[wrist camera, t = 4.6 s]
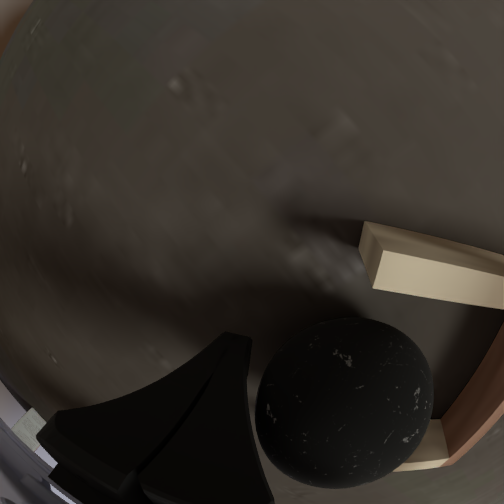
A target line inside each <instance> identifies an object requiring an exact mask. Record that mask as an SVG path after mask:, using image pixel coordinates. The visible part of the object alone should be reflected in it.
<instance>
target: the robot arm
mask: <svg viewBox="0 0 504 504" xmlns="http://www.w3.org/2000/svg"><path fill="white" fill-rule="evenodd" d="M251 347H252V339H251V338H250V337H247V336H242V335H238V334H234V333H230V332H224V333H222V334H221V335H220V336H219V337H218V338H216V339H215V340H214V341H213V342H212V343H211V344H209V345H208V346H207V347H206V348H205V349H203V350H202V351H201V352H200V353H198V354H197V355H196V356H194V357H193V358H192V359H190V360H189V361H188V362H186V363H185V364H183V365H182V366H180V367H179V368H177V369H176V370H174V371H173V372H171V373H170V374H168V375H166V376H165V377H163V378H161V379H159V380H158V381H156V382H154V383H152V384H150V385H148V386H146V387H144V388H142V389H139V390H137V391H135V392H132V393H130V394H128V395H125V396H122V397H120V398H117V399H113V400H110V401H107V402H103V403H100V404H96V405H92V406H88V407H82V408H76V409H69V410H61V411H57V412H56V413H55V414H54V415H53V416H52V417H51V418H50V420H49V421H48V422H47V423H46V424H45V425H44V426H43V427H42V429H41V430H40V431H39V432H38V433H37V434H36V439H37V441H38V442H39V443H40V445H41V446H42V447H43V448H44V449H45V450H46V451H47V452H48V453H49V454H50V455H51V457H52V458H54V460H55V461H56V462H57V463H58V464H57V465H56V466H55V468H54V469H53V468H52V467H51V466H49V465H48V464H47V463H46V462H45V461H43V460H42V459H41V458H40V457H39V456H38V455H37V454H36V453H34V452H33V451H32V450H31V449H30V448H29V447H28V446H27V445H26V444H25V443H24V442H23V441H22V440H21V439H20V438H19V437H18V436H17V435H16V434H15V433H14V432H13V431H12V430H11V429H10V428H9V427H8V426H7V425H6V424H5V422H3V420H2V419H1V418H0V504H69V503H67V502H66V501H65V500H63V499H62V498H60V497H59V496H58V495H56V494H55V493H53V492H52V491H51V488H50V484H51V485H52V486H54V487H55V488H56V489H57V490H59V491H60V492H61V493H62V494H64V495H65V496H66V497H68V498H69V499H70V500H72V501H73V502H75V503H76V504H275V503H274V497H273V495H272V492H271V490H270V488H269V485H268V482H267V480H266V477H265V474H264V471H263V468H262V465H261V462H260V459H259V455H258V451H257V448H256V444H255V440H254V436H253V431H252V426H251V420H250V414H249V407H248V397H247V375H248V370H249V363H250V355H251Z"/></svg>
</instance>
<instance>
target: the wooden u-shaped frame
mask: <svg viewBox="0 0 504 504" xmlns="http://www.w3.org/2000/svg"><path fill="white" fill-rule="evenodd" d="M358 249H359V252H360V255H361V257H362V260H363V263H364V265H365V268H366V271H367V274H368V277H369V279H370V282H371V285H372V288H374V289H380V290H385V291H391V292H397V293H403V294H409V295H415V296H421V297H427V298H433V299H439V300H446V301H452V302H458V303H464V304H471V305H477V306H484V307H490V308H497V309H504V255H501V254H498V253H494V252H491V251H487V250H484V249H480V248H477V247H473V246H469V245H466V244H462V243H458V242H454V241H450V240H447V239H443V238H439V237H435V236H430V235H426V234H422V233H418V232H414V231H409V230H405V229H400V228H396V227H391V226H387V225H382V224H377V223H373V222H368V221H364V225H363V230H362V234H361V239H360V243H359V248H358ZM503 413H504V322H503V324H502V326H501V328H500V330H499V332H498V334H497V335H496V337H495V339H494V341H493V343H492V345H491V347H490V348H489V350H488V352H487V353H486V355H485V357H484V359H483V360H482V362H481V363H480V365H479V367H478V368H477V370H476V371H475V373H474V374H473V376H472V377H471V379H470V380H469V382H468V383H467V385H466V386H465V388H464V389H463V390H462V392H461V393H460V395H459V396H458V397H457V399H456V400H455V401H454V403H453V404H452V405H451V406H450V408H449V409H448V410H447V412H446V413H445V414H444V415H443V416H442V418H441V419H433V420H430V422H429V425H428V428H427V431H426V433H425V435H424V437H423V439H422V441H421V442H420V444H419V446H418V447H417V448H416V450H415V451H414V452H413V454H412V455H411V456H410V457H409V458H408V459H407V460H406V461H405V462H404V463H403V464H402V465H400V466H399V467H398V468H396V469H395V470H394V471H392V472H396V471H410V470H420V469H428V468H435V467H442V466H448V465H452V464H454V463H455V462H456V461H457V460H458V459H459V458H460V457H462V456H463V455H464V454H465V453H466V452H467V451H468V450H469V449H470V448H471V447H472V446H473V445H474V444H475V443H476V442H477V441H478V440H479V439H480V438H481V437H482V436H483V435H484V434H485V433H486V432H487V431H488V430H489V429H490V428H491V427H492V426H493V425H494V424H495V422H496V421H497V420H498V419H499V418H500V417H501V416H502V414H503Z"/></svg>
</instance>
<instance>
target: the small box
mask: <svg viewBox="0 0 504 504" xmlns="http://www.w3.org/2000/svg"><path fill="white" fill-rule="evenodd" d="M46 423H47V422H46V421H45V420H44V419H43V418H42V417H41V416H40V415H39V414H38V413H37V412H36V410H35V409H34V408H33V407H32V408H31V409H30V410H29V411H28V412H27V413H26V414H25V415H24V416H23V417H22V418H21V419H20V420H19V421H18V422H17V423H16V424H15V425H14V426H13V427H12V428H11V430H12V431H13V432H14V433H15V434H16V435H17V436H18V437H19V438H20V439H21V440H22V441H23V442H24V443H25V444H26V445H27V446H28V447H29V448H30V449H31V450H32V451H33V452H35V451H36V449H37V448H38V447H39V446H40V443H39V442H38V441H37V439H36V434H37V433H38V432H39V431H40V430H41V429H42V427H43V426H44V425H45V424H46Z"/></svg>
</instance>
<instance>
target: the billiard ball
mask: <svg viewBox="0 0 504 504" xmlns="http://www.w3.org/2000/svg"><path fill="white" fill-rule="evenodd" d="M433 401H434V387H433V380H432V374H431V371H430V368H429V365H428V363H427V360H426V358H425V357H424V355H423V353H422V352H421V350H420V349H419V347H418V346H417V345H416V344H415V343H414V342H413V341H412V340H411V339H410V338H409V337H408V336H406V335H405V334H404V333H402V332H401V331H399V330H398V329H396V328H394V327H392V326H390V325H388V324H385V323H382V322H379V321H375V320H372V319H366V318H357V317H348V318H338V319H332V320H328V321H324V322H321V323H318V324H315V325H313V326H310V327H308V328H306V329H304V330H302V331H301V332H299V333H298V334H296V335H295V336H293V337H292V338H291V339H289V340H288V341H287V342H286V343H285V344H284V345H283V346H282V347H281V348H280V349H279V350H278V352H277V353H276V354H275V355H274V357H273V358H272V360H271V361H270V363H269V364H268V366H267V368H266V370H265V372H264V374H263V376H262V379H261V382H260V385H259V388H258V392H257V397H256V404H255V424H256V431H257V435H258V439H259V442H260V444H261V447H262V449H263V450H264V452H265V454H266V456H267V457H268V458H269V460H270V461H271V462H272V463H273V464H274V465H275V466H276V467H277V468H278V469H279V470H280V471H281V472H283V473H284V474H285V475H287V476H289V477H290V478H292V479H294V480H296V481H299V482H301V483H304V484H307V485H311V486H315V487H320V488H330V489H340V488H350V487H355V486H360V485H364V484H367V483H370V482H373V481H375V480H377V479H380V478H382V477H384V476H385V475H387V474H389V473H391V472H392V471H394V470H395V469H396V468H398V467H399V466H400V465H402V464H403V463H404V462H405V461H406V460H407V459H408V458H409V457H410V456H411V455H412V454H413V452H414V451H415V450H416V448H417V447H418V446H419V444H420V442H421V441H422V439H423V437H424V435H425V433H426V431H427V428H428V425H429V422H430V419H431V415H432V410H433Z"/></svg>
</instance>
